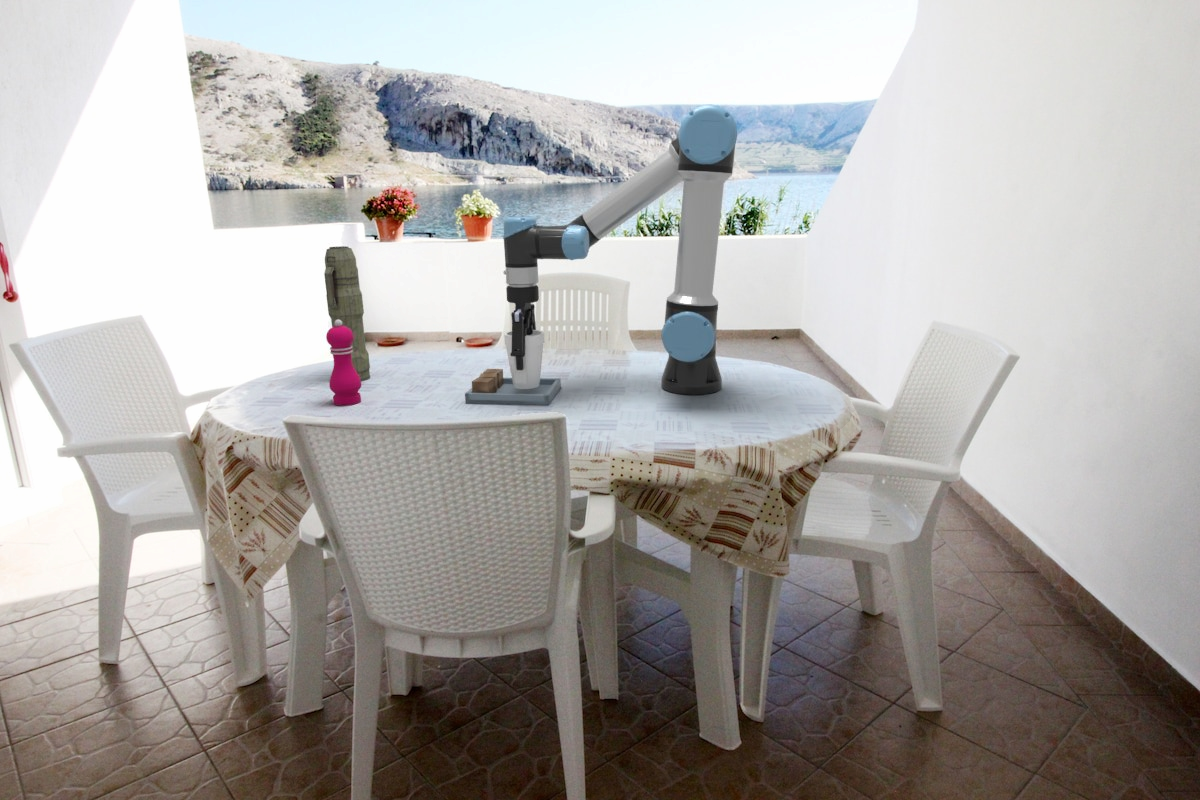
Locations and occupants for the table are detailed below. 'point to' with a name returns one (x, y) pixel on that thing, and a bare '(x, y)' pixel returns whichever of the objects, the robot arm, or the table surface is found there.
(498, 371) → the block
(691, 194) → the robot arm
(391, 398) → the table surface
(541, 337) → the foam cup
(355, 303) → the carved stone statue
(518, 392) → the tray
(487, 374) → the block
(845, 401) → the table surface
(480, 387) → the block
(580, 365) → the table surface
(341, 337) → the pepper mill
